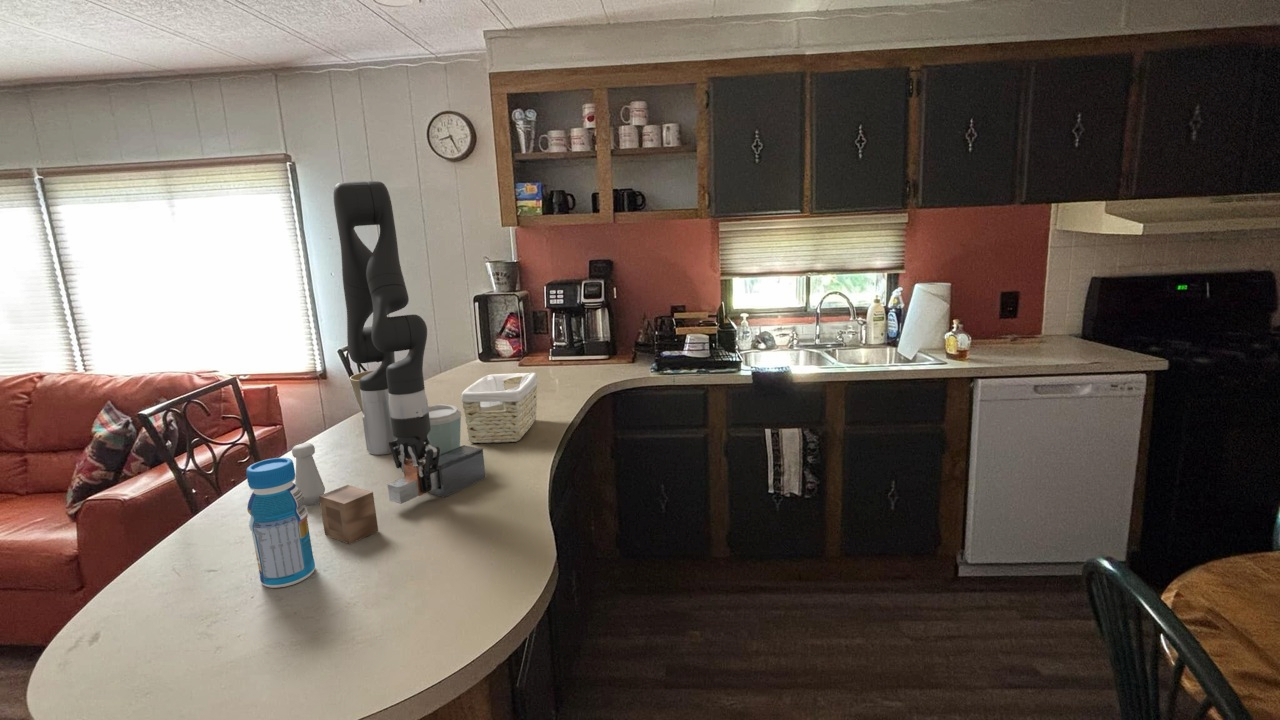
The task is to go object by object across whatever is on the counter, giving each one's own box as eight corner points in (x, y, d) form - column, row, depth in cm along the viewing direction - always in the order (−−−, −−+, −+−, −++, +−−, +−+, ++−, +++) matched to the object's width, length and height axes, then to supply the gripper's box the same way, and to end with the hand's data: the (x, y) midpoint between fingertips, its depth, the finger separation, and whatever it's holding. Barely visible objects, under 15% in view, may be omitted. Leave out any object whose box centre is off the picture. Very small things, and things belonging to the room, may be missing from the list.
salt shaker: (332, 498, 140) (323, 441, 137) (309, 509, 135) (300, 450, 132) (314, 495, 142) (305, 439, 140) (290, 505, 137) (281, 447, 135)
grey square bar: (466, 466, 149) (463, 441, 148) (478, 469, 147) (475, 443, 146) (389, 500, 132) (385, 471, 130) (401, 504, 130) (397, 474, 128)
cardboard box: (353, 522, 127) (347, 484, 126) (378, 530, 123) (372, 491, 122) (325, 535, 122) (318, 495, 121) (350, 544, 118) (344, 503, 117)
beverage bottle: (277, 595, 102) (256, 477, 98) (249, 582, 107) (228, 468, 103) (327, 570, 109) (309, 459, 105) (299, 559, 114) (281, 452, 110)
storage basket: (490, 420, 195) (485, 372, 192) (542, 418, 193) (538, 371, 190) (463, 446, 171) (458, 393, 168) (523, 444, 170) (518, 391, 167)
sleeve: (467, 473, 151) (463, 445, 149) (485, 478, 147) (482, 448, 146) (425, 492, 141) (421, 461, 139) (444, 497, 138) (441, 466, 136)
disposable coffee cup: (475, 466, 155) (469, 407, 152) (435, 480, 148) (428, 418, 145) (452, 457, 162) (445, 400, 159) (412, 470, 155) (405, 410, 152)
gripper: (372, 412, 133) (382, 490, 136) (417, 420, 125) (427, 502, 129) (402, 403, 139) (411, 478, 142) (447, 411, 131) (455, 489, 135)
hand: (419, 489), depth 135 cm, fingers closed on grey square bar, 4 cm apart
